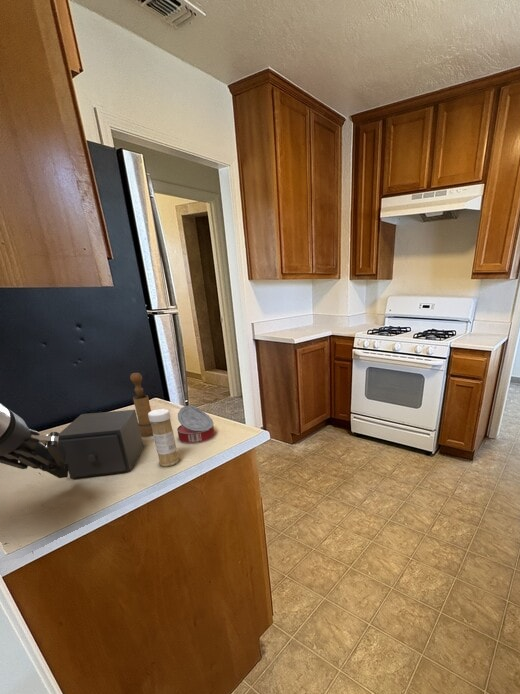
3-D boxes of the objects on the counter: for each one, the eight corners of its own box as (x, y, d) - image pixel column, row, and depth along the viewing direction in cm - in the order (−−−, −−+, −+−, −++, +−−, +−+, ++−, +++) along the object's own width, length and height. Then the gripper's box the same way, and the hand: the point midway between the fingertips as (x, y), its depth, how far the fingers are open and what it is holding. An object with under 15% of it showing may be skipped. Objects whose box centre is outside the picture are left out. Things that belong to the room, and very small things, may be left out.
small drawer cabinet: (130, 471, 83) (119, 429, 79) (70, 478, 80) (56, 436, 76) (143, 446, 96) (135, 409, 92) (92, 451, 93) (81, 414, 89)
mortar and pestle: (135, 438, 101) (120, 376, 94) (136, 430, 107) (122, 371, 100) (160, 434, 104) (148, 374, 97) (160, 427, 109) (148, 369, 102)
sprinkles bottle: (172, 457, 90) (162, 407, 84) (183, 461, 87) (173, 410, 82) (155, 464, 86) (143, 412, 81) (166, 469, 84) (154, 416, 79)
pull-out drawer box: (124, 473, 80) (114, 437, 77) (68, 480, 78) (55, 443, 75) (138, 446, 94) (131, 415, 90) (91, 452, 91) (81, 420, 88)
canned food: (206, 443, 108) (218, 413, 108) (211, 452, 100) (223, 420, 99) (168, 432, 103) (180, 400, 102) (170, 441, 94) (182, 407, 93)
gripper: (-77, 454, 49) (25, 493, 71) (31, 443, 52) (98, 484, 74) (-66, 407, 52) (29, 458, 73) (36, 399, 55) (99, 450, 76)
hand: (63, 471), depth 73 cm, fingers closed
